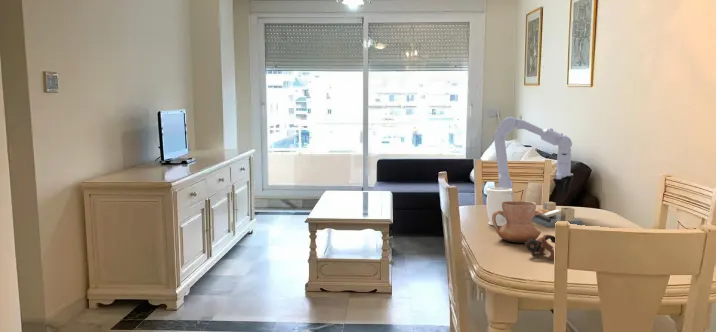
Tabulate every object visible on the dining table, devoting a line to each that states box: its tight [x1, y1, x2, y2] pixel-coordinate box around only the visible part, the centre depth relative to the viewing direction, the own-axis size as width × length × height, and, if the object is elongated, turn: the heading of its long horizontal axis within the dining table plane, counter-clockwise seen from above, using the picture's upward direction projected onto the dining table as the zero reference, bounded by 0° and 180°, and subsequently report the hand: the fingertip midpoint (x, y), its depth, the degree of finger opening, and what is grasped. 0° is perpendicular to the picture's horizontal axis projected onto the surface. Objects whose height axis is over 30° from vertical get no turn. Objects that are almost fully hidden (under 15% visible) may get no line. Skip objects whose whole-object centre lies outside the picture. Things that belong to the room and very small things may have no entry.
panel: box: [531, 201, 584, 228], centre depth 246 cm, size 16×18×7 cm
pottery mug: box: [525, 234, 556, 261], centre depth 190 cm, size 12×10×8 cm
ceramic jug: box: [492, 200, 543, 244], centre depth 212 cm, size 18×14×14 cm
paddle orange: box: [537, 208, 556, 216], centre depth 249 cm, size 7×3×2 cm, turn 101°
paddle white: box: [542, 208, 561, 218], centre depth 246 cm, size 7×3×2 cm, turn 102°
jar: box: [486, 186, 513, 227], centre depth 241 cm, size 11×10×15 cm
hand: (562, 193), depth 259 cm, fingers open, 7 cm apart
